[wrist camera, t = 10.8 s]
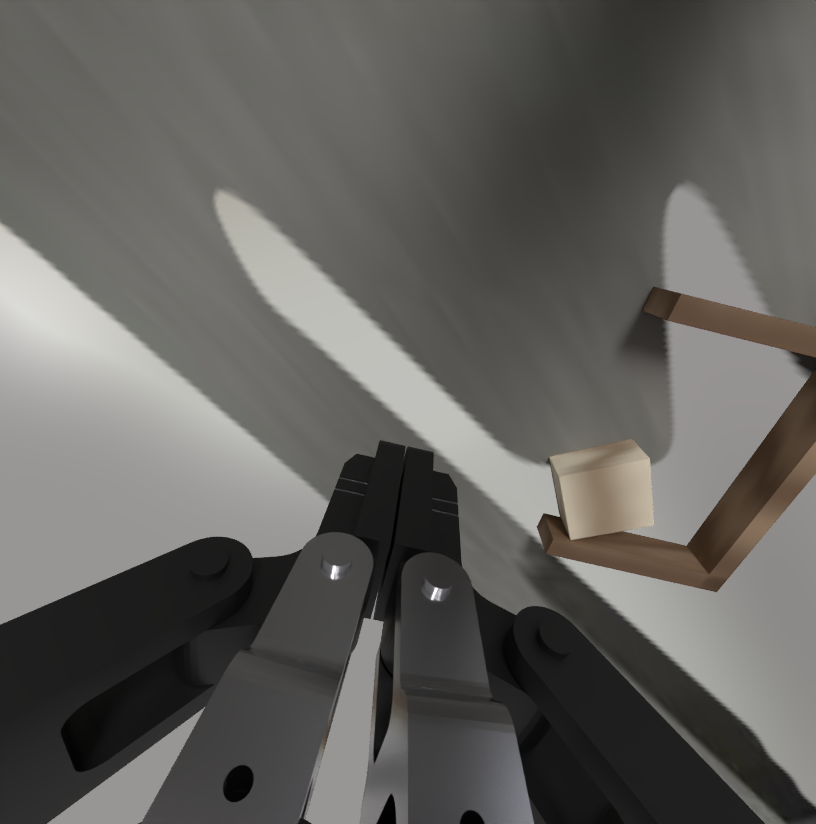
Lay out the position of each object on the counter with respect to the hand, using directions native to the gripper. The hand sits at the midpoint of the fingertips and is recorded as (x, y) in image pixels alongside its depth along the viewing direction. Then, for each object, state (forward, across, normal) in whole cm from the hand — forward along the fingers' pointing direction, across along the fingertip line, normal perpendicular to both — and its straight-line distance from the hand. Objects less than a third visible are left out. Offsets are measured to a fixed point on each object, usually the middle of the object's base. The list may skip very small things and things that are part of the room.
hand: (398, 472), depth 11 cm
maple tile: (+17, -16, +9) cm, 25 cm away
